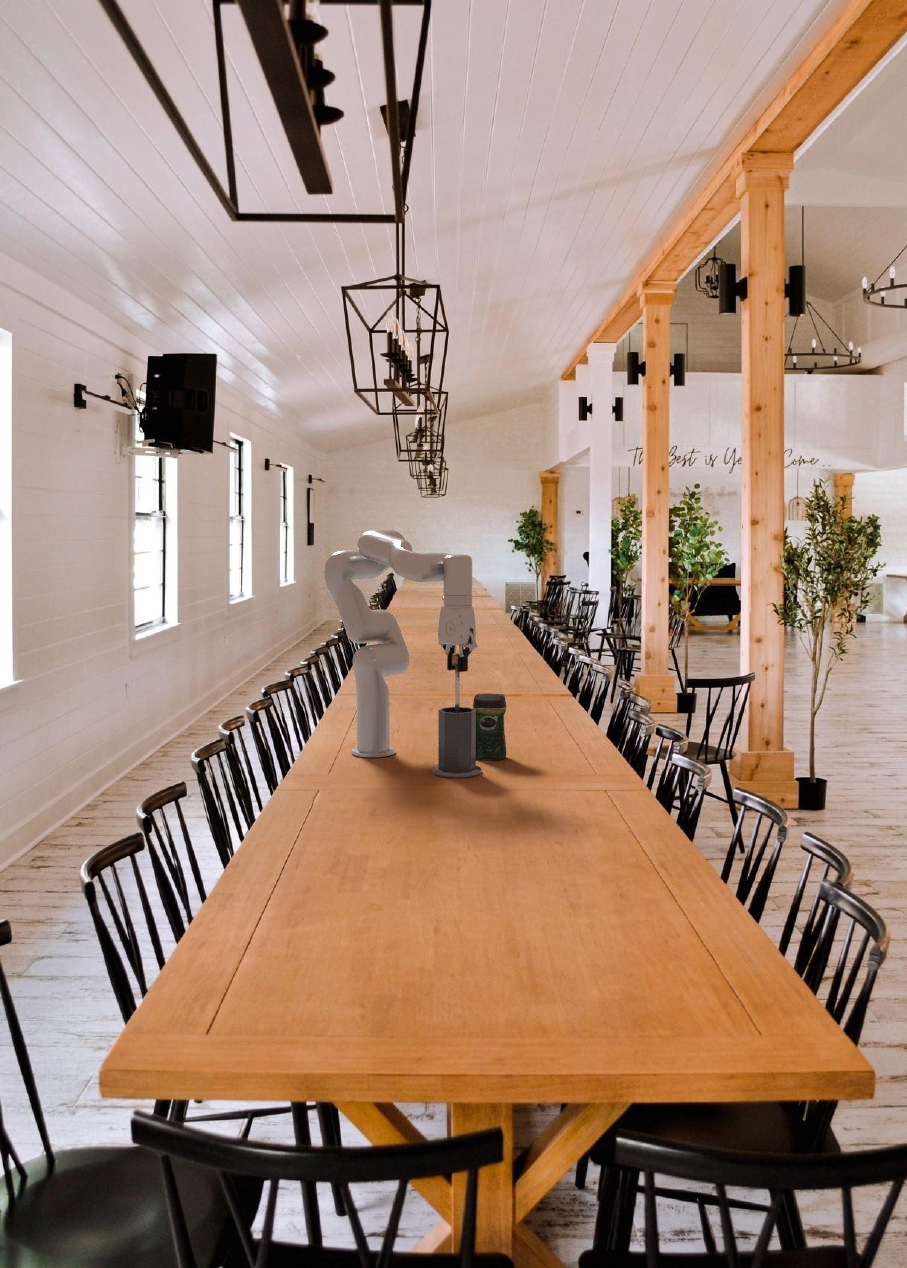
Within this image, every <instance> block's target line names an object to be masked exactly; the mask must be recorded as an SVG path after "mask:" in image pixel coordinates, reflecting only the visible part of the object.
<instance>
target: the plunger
mask: <svg viewBox="0 0 907 1268" xmlns="http://www.w3.org/2000/svg"><path fill="white" fill-rule="evenodd" d="M458 657H460V654H459V653H458V652H457V653H453V654H452V664H451V665H452V666H455V670H454V675H455V677H454V707H455V713H460V707H461V706H460V704H461V701H460V699H461V698H460V694H461V693H460V692H461V690H460V688H461V686H460V684H461V682H460V681H461V676H460V675H461V672H458Z"/></svg>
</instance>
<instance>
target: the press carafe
mask: <svg viewBox="0 0 907 1268" xmlns="http://www.w3.org/2000/svg"><path fill="white" fill-rule="evenodd" d="M437 737H438V738H437V739H438V741H437V742H438V747H437V748H438V749H437V750H438V752H437V754H438V763H437V765H435V766H434V767H432V774H433V775H434V776H437V777H438V778H439V777H440V778H445V779H455V778H458V779H469V778H475V777H478V776H480V775H482V768H481V766H478V765H476V764H477V763H476V761H477V759H476V710H475V709H473V707H465V706H460V713H455V706H450V707H449V706H448V707H442V708H440V709H438V736H437Z"/></svg>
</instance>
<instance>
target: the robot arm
mask: <svg viewBox="0 0 907 1268" xmlns="http://www.w3.org/2000/svg"><path fill="white" fill-rule="evenodd" d="M413 550H414V549H413V547H412V544H411V542H409V541H408V540H406V539H405V537H404V536H403V534H401V532H399V531H397V530H393V529H390V530H389V529H388V530H387V529H385V530H384V529H382V530H381V529H380V530H379V529H378V530H376V529H375V530H374V529H373V530H368V531H365V532H364V533H362V534H361V535H360V536H359V538H358V539H357V550H355V549H351V550H350V549H348V550H339V551H336V552H334V553H332V554H330V555H329V556H328V557H327V560H326V561H325V565H324V571H323V572H324V574H323V575H324V580H325V584H326V587H327V590H328V591H329V593H330V595H331V597H332V599H333V600H334V602H335V604H336V607H337V610H338V614H339V617H340V619H341V621H342V623H343V627H344V629H345V632H346V634H347V635H346V636H348V638H349V640H350V641H351V643H355V644H368V645H364V646H361V647H359V648H358V649H357V650H356V651H355V652H354V654H353V657H352V668H353V672H354V678H355V691H356V692H355V693H356V698H355V699H356V746H355V747H353V748H352V749H351V754H352V755H353V756H355V757H358V758H359V757H360V758H384V757H389V756H393V755H395V754H396V749H395V747H393V746H390V741H391V739H390V737H391V736H390V735H391V733H390V731H391V728H390V727H391V724H390V723H391V722H390V721H391V720H390V719H391V718H390V717H391V716H390V711H391V710H390V709H391V708H390V707H391V706H390V705H391V704H390V703H391V702H390V701H391V700H390V689H389V687H388V684H387V682H386V681H385V677H390V676H395V675H396V676H397V675H401V674H403V673H405V672H406V671H407V669H408V668H409V665H410V654H409V650H408V648H407V645H406V642H405V639H404V636H403V634H402V632H401V629H400V627H399V624H398V621H397V619H396V618H395V616H394V615H393V613H391V612H390V611H388V610H386V609H381V608H380V609H378V608H377V609H371V608H370V607H369V605H368V603H367V599H366V597H365V594H363V592H362V590H361V589H360V588H359V587H358V586H357V585H356V584H355V583H354V582H353V581H352V580H365V579H366V580H367V579H370V580H371V579H374V578H378V577H379V576H381V575H382V574H384V573H385V572H387V570H389V569H390V568H392V570H393V572H394V573H395V574H396V575H397V576H400V577H401V578H405V579H408V580H411V581H414V582H418V583H423V582H424V583H430V582H443V596H442V598H441V599H442V601H443V605H442V606H441V607H440V612H439V618H438V629H437V630H438V632H437V633H438V634H437V639H438V645H440V646H441V647H442V648H443V650H444V652H445V653H444V654H445V656H446V657H447V658H446V659H447V660H446V661H447V662H446V664H447V665H446V666H447V667H446V668H447V671H455V666H452V665H451V664H452V654H453V653H456V652H457V646H458V651H459V654H460V657H458V672H460V673H463V672H468V669H469V657H470V656H471V653H472V652H473V651H474V650H476V649H477V648H478V644H477V641H476V639H477V638H476V637H477V635H476V634H477V631H476V630H477V628H476V627H477V626H476V617H475V610H474V607H473V559H472V557H471V556H470V555H468V554H452V553H447V552H446V553H445V552H431V553H430V552H427V553H420V552H419V553H418V552H414V551H413ZM371 643H373V644H371ZM375 643H376V644H375Z"/></svg>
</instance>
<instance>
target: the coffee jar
mask: <svg viewBox="0 0 907 1268" xmlns="http://www.w3.org/2000/svg"><path fill="white" fill-rule="evenodd" d="M472 709H475V710H476V760H481V761H499V760H500V761H501V760H503V759H506V757H507V744H506V743H507V742H506V741H507V740H506V733H505V714H506V712H507V702H506V696H505V694H503V693H492V692H491V693H488V692H487V693H486V692H485V693H484V692H483V693H476V694H475V695H474V697H473V702H472Z"/></svg>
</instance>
